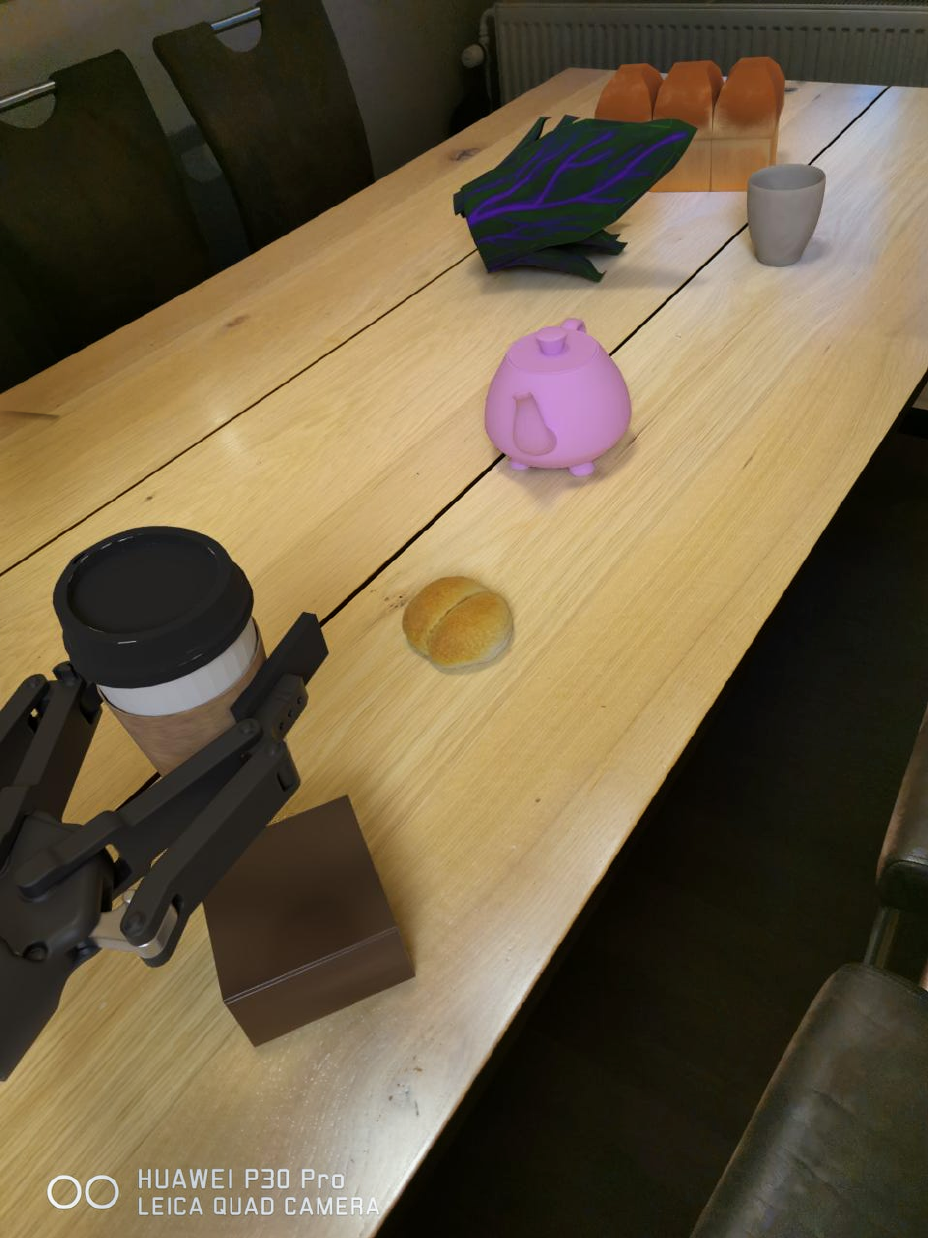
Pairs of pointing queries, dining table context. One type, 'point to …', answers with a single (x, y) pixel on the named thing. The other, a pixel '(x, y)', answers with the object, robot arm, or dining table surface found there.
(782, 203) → the mug
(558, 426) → the teapot
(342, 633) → the dining table surface
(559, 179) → the decorative plant
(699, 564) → the dining table surface
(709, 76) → the bread
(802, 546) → the dining table surface
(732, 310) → the dining table surface
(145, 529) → the coffee cup
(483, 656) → the bread roll
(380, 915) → the riser
